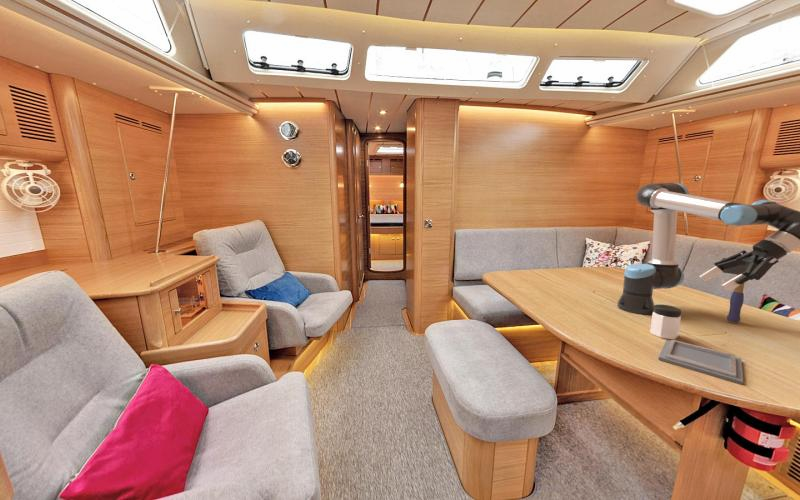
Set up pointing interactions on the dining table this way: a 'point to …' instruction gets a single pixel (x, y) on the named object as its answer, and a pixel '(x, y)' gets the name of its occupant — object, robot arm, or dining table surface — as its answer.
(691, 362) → the tray
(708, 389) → the dining table surface
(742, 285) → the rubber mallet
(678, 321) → the jar
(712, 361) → the board
